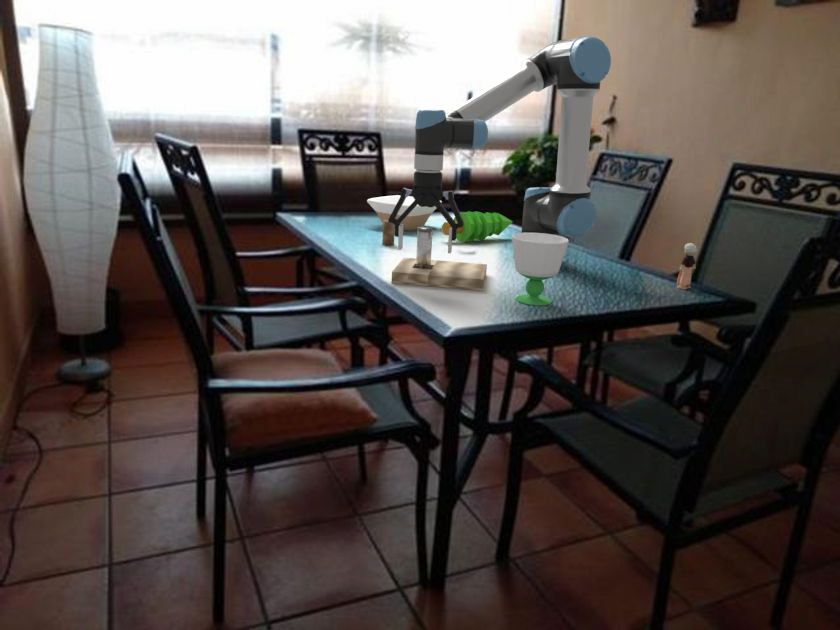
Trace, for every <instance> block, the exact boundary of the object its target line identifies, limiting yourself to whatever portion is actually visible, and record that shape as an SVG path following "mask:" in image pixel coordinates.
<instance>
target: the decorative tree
mask: <svg viewBox="0 0 840 630" xmlns="http://www.w3.org/2000/svg"><path fill="white" fill-rule="evenodd" d="M459 212H460V215H461V217H462V219H463V222H464V225H463V227H460V228H457V236H456V241H458V242H461V243H465V242H467V241H470V242H474V241H475V240H476V241H479V242H483V241H484V240H485V239H486V238H487V237H492V236H493V235H495V236H500V235H501V234H502V233H503V232H504V231H505V230H506V229H507V228H508V227H509V226H510V225H511V224H512V223H514V221H512V220H511V219H510V218H507V217H506V216H504V215H502V214H500V213H498V212H494V211H493V212H492V213H491V212H487V211H486V212H485V213H483V212H480V211H474V212H473V211H470V210H468V211H467V212H461V211H459ZM453 220H454V221H455V222H456V223H458V222H457V220H456V218H455V217H453ZM450 228H452V227H451V226H450V225H449V223H448V222H447V221H445V222H443V224H441V231H442V233H443V235H444V236H449V229H450Z"/></svg>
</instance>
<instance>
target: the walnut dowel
mask: <svg viewBox="0 0 840 630" xmlns="http://www.w3.org/2000/svg"><path fill="white" fill-rule="evenodd" d="M383 244H385V245H384V246H388V245H390V246H395V225H394V224H393V223H390V222H389V221H388V220H383V223H382V245H383Z"/></svg>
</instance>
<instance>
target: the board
mask: <svg viewBox="0 0 840 630" xmlns="http://www.w3.org/2000/svg"><path fill="white" fill-rule="evenodd" d="M487 266H488V264H485V263H475V262H464V261H463V262H462V261H461V262H460V261H450V260H449V261H448V260H439V259H438V260H436V259H431V269H420V268H416V258H412V257H402V259H401V260H400V261H399V262H398V264H397V265H396V266H395V267H394V268H393V269H392V271H391V281H390V282H391V283H392V284H399V285H400V284H401V285H402V284H403V285H410V286H411V285H413V286H424V287H434V288H435V287H436V288H444V289H445V288H447V289H456V290H457V289H458V290H467V291H468V290H470V291H479V292H480V291H482V292H483V290H484V284H485V281H486V278H487V277H486V276H487V270H488V269H487V268H488V267H487Z"/></svg>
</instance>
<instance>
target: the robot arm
mask: <svg viewBox="0 0 840 630" xmlns="http://www.w3.org/2000/svg"><path fill="white" fill-rule="evenodd" d="M611 58H612V57H611V53H610V50H609V48H608V46H607V45H606V43H605V42H604V41H603V40H601V39H600V38H598V37H596V36H579V37H573V38H568V39H560V40H556V41H554V42H552V43H550V44H548V45H547V46H545V47H543V48H542V49H540V50H538V51H537V52H536V53H534V54H533V55H531V56H530V57H528V58H527V59H524V61H522V63H521V67H519V68H518V69H516V70H515V71H512V72H511V73H510V74H508V75H506V76H505V77H504V78H502V79H500V80H499V81H497V82H495V83H494V84H492V85H491V86H489V87H487V88H486V89H485V90H482V91H481V92H480V93H478V94H477V95H475V96H473V97H471V98H470V99H468V100H467V101H465V102H464V103H462V104H461V105H459V106H457V107H456V108H454V109H453V110H451V111H449V112H448V113H446V111H445V110H444V109H430V108H429V109H425V108H424V109H423V108H422V109H418V111H417V113H416V117H415V127H414V129H415V131H414V132H415V135H414V137H415V138H414V139H415V140H414V141H415V143H414V157H413V158H414V160H413V161H414V162H413V163H414V164H413V169H415V171H414V173H413V187H412V189H409V188H406V187H403V188H402V189H401V190H400V199H399V201H398V202H397V204H396V206H395V208H394V210H393V212H392V214H391V216H390V217H389V219H388V221H389V222H390V223H393V224H394V225H395V232H394V238H398V240H397V250H402V249H403V246H404V245H403V243H404V240H403V239H404V230H403V224H400V223H401V222H402V221H403V220H404V219H405V218H406V216H407V215H408V214H409V213H410V212H411V211H412V210H413V209H414V208H415V207H416V206H417V205H419V206H421V207H425V206H427V207H434V206H436V210H438V211H439V212H440V214H441V215H442V217H443V218H444V219H445V220H446V221H445V222H448V223H449V225H450V226H451V227H452V228H450V229H449V235H448V242H447V254H451V253H452V251H453V249H452V248H453V242H456V241H457V239H456V236H457V228H460V227H463V225H464V222H463V219H462V217H461V215H460V212H461V211H460V210H459V208H458V205H457V203H456V201H455V196H454V195H455V194H454V190H449V191H444V190H443V173H442V172H441V171H443V168H444V167H443V166H444V153H445V149H471V150H474V149H482V148H484V147H485V145H486V144H487V142H488V138H489V137H488V136H489V129H488V125H487V123H486V122H487V121H488V120H490V119H492V118H493V117H495V116H496V115H498V114H500V113H501V112H504V111H505V110H506V109H508V108H510V107H511V106H512V105H514V104H515V103H517V102H518V101H520V100H522V99H523V98H525V97H527V96H528V95H530V94H531V93H533V92H535V93H539V92H541V91H543V90H544V89H546V88H548V87H551V86H554V85H555V86H556V91H557V92H558V94H559V95H560V96H561V103H560V119H559V120H560V121H559V131H558V148H557V164H556V174H555V175H556V176H555V184H554V185H553V186H551V187H529V188H527V189H526V190H525V194H524V199H523V201H524V202H523V209H522V211H523V212H522V223H521V232H520V233H545V234H552V235H557V236H559V235H560V236H562V237H565V238H574V239H575V238H580V237H583V236H585V235H586V234H587V233H589V231H590V230H592V228H594V227H593V226H595V222H596V220H597V216H598V211H597V207H596V205H595V203H594V202H593V201H592V200H591V192H592V191H591V189H590V187H589V186H588V185H587V176H588V167H589V166H588V165H589V152H590V140H591V130H592V129H591V127H592V120H593V119H592V116H593V106H594V98H595V96H596V95H597V94H598V93H599V92H600V90H601V81H603V80H604V79H605V78H606V76H607V75H608V74H609V72H610V69H611V65H612V59H611ZM408 196H411V197H413V198H414V199H415V201H414V202H413V203H412V204H411V205H410V206H409V207H408V208H407V209H406V211H405V212H404V213H403V214H402V215H401V216H400V217H399V218H398V219H395V217H396V216H397V214H398V212H399V210H400V208H401V206H402V204H403V203H404V201H405V199H406V197H408ZM443 197H444V198H445V200H447V201H448V203H449V205H450V209H451V211H452V214H453V215H454V217H452V216H451V215H450V213H449V212H448V210H447V209H446V208H445V206H444V205H443V203H441V202H440V201H441V199H443ZM454 218H456V220H457V222H458V223H456V222H455V221H454ZM513 259H514V256H513Z"/></svg>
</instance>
